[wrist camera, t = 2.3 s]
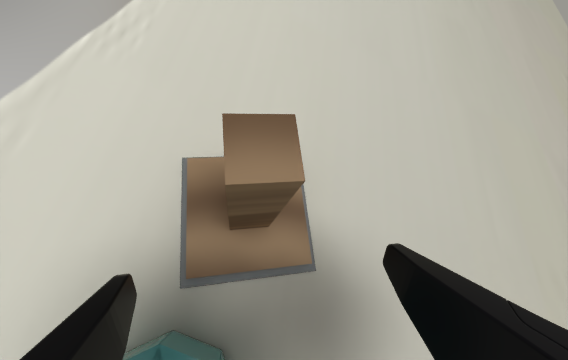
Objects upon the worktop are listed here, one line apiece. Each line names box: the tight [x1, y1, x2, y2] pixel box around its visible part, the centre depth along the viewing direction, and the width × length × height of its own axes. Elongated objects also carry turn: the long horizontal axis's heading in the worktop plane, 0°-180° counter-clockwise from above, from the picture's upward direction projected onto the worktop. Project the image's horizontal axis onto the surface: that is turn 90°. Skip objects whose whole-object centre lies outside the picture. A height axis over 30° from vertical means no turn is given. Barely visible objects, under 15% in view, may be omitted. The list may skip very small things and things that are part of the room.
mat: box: [180, 157, 316, 288], centre depth 21 cm, size 10×10×1 cm
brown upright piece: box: [186, 114, 312, 279], centre depth 15 cm, size 9×9×12 cm
